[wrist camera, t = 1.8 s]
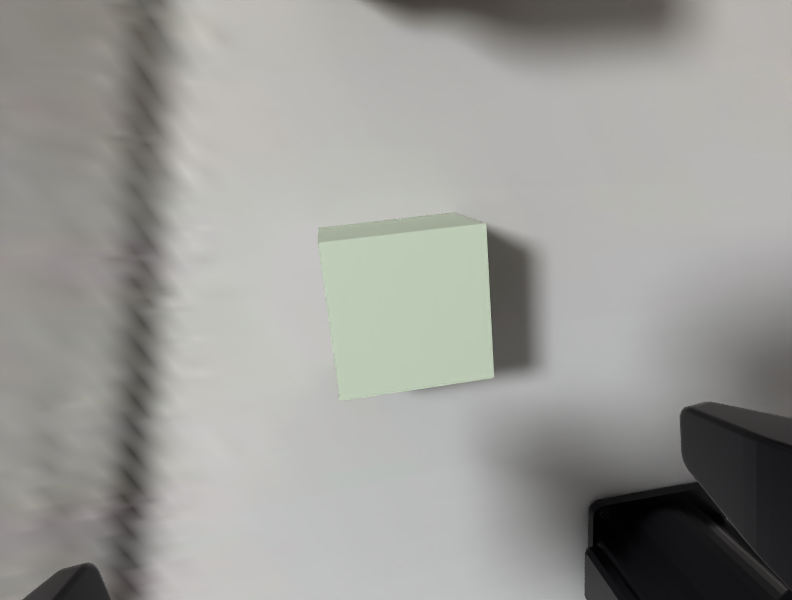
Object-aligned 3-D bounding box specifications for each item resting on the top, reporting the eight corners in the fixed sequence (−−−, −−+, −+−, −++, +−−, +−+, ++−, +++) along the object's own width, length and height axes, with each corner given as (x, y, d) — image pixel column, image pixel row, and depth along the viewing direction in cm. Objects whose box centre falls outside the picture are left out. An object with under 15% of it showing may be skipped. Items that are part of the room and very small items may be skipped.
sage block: (453, 212, 19) (486, 223, 15) (461, 338, 20) (494, 377, 17) (318, 227, 19) (317, 242, 15) (336, 356, 20) (339, 401, 16)
